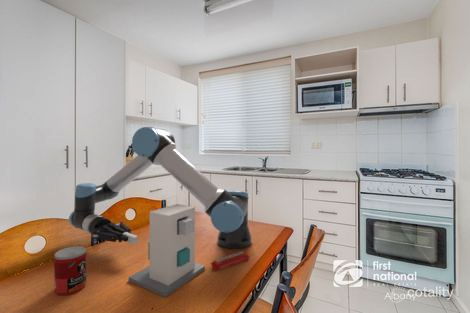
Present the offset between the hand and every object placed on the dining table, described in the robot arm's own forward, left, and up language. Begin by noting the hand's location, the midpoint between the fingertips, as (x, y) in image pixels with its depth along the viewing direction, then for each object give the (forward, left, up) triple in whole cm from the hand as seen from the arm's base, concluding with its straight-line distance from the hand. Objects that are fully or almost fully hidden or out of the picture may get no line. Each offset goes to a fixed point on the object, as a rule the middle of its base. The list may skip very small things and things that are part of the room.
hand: (135, 240), depth 87 cm
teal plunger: (-16, +8, -3) cm, 18 cm away
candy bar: (-35, -2, -8) cm, 36 cm away
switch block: (-15, +8, -8) cm, 19 cm away
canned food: (+11, +18, -8) cm, 22 cm away
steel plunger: (-17, +9, +7) cm, 21 cm away
